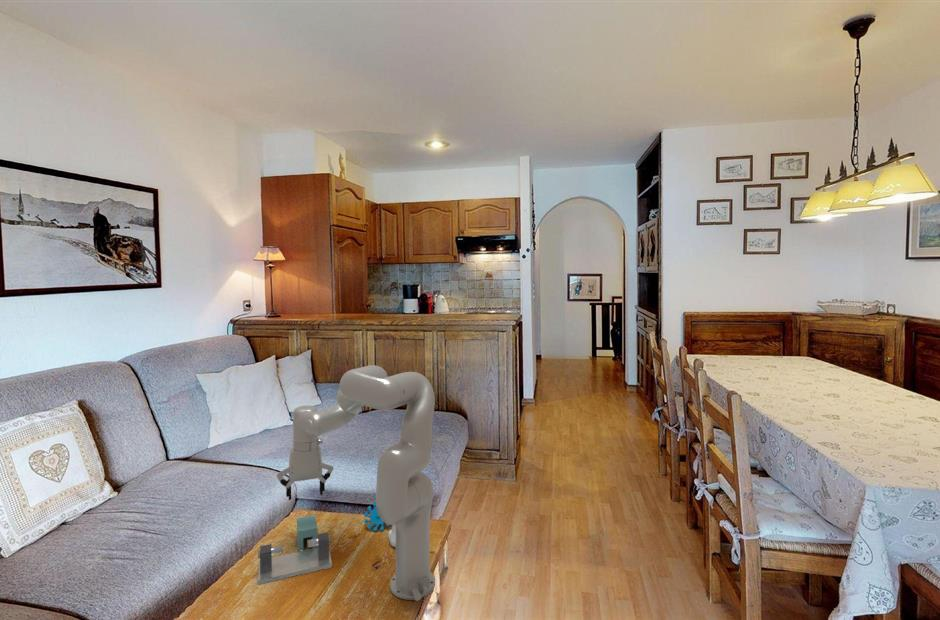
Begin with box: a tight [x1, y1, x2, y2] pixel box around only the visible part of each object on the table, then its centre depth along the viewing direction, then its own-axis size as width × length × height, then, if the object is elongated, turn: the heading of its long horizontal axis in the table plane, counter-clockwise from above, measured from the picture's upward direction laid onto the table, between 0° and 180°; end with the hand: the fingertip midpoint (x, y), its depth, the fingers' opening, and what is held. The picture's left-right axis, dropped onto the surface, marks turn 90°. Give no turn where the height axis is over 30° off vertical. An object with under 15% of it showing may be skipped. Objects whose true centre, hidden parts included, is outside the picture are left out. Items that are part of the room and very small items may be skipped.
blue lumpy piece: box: [363, 501, 390, 532], centre depth 157 cm, size 11×6×10 cm
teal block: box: [296, 514, 318, 552], centre depth 146 cm, size 6×9×6 cm, turn 24°
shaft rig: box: [257, 531, 333, 585], centre depth 133 cm, size 10×20×7 cm, turn 114°
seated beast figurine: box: [387, 525, 396, 548], centre depth 146 cm, size 10×9×12 cm
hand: (305, 495), depth 145 cm, fingers open, 9 cm apart
